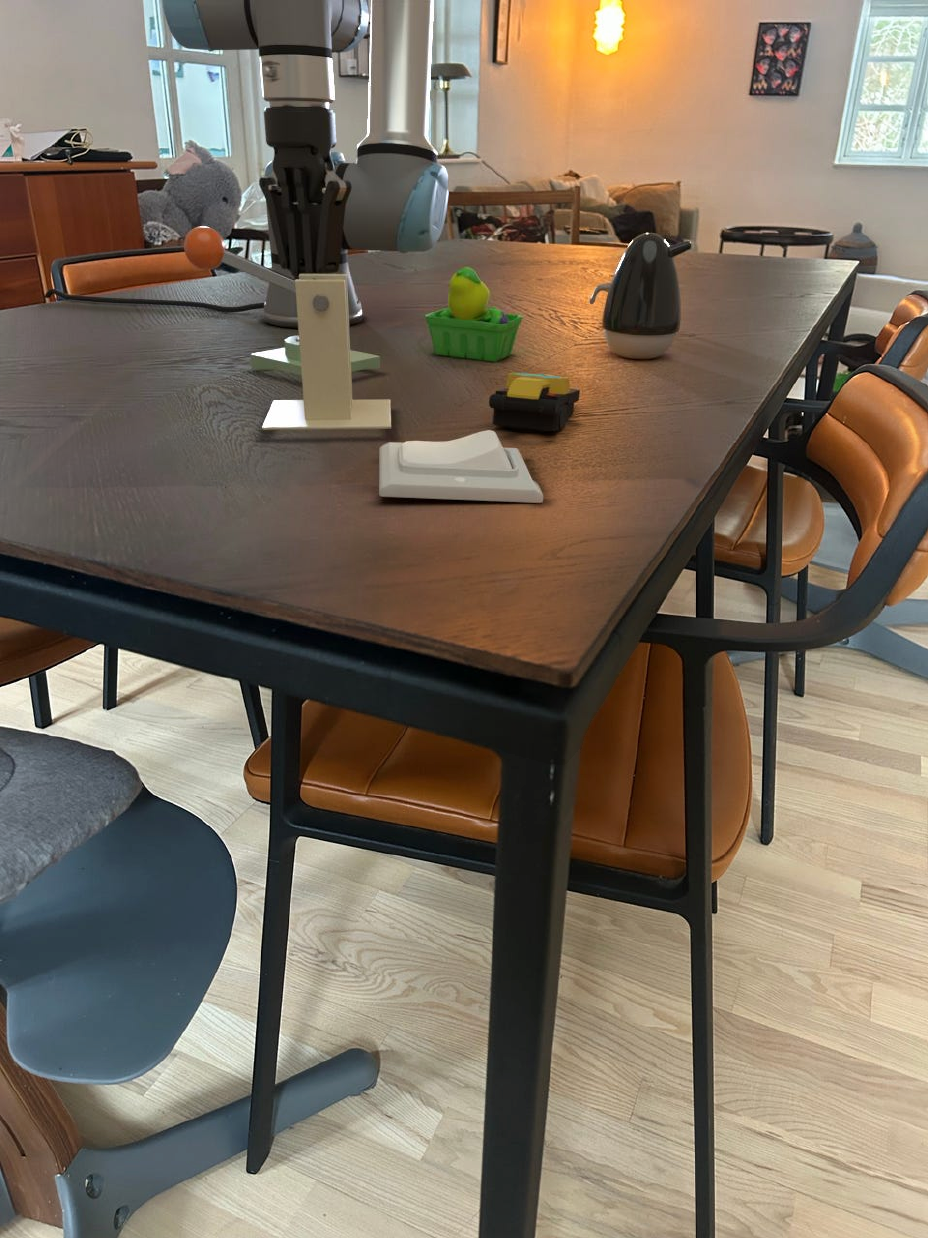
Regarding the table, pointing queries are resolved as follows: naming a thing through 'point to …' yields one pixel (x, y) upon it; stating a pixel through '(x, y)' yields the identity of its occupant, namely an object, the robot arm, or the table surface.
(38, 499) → the table surface
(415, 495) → the light switch
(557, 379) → the gadget
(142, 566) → the table surface
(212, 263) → the lever
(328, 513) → the table surface
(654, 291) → the pump dispenser
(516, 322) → the fruit basket
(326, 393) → the bracket
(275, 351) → the button block
